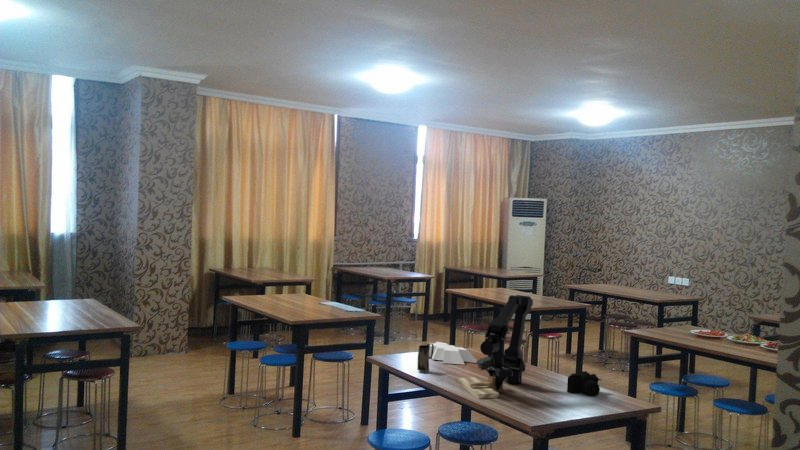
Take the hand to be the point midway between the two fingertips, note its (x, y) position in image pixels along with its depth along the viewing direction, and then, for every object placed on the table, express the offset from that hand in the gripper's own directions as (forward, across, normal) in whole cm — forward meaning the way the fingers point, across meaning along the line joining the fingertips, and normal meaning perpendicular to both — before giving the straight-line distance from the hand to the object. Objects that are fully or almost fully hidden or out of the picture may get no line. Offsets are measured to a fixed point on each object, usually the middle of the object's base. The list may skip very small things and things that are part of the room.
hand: (495, 388), depth 268 cm
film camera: (+2, +9, +38) cm, 39 cm away
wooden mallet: (+1, 0, 0) cm, 1 cm away
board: (+1, -3, -7) cm, 8 cm away
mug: (+2, -38, -18) cm, 42 cm away
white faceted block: (+2, -62, +2) cm, 62 cm away
